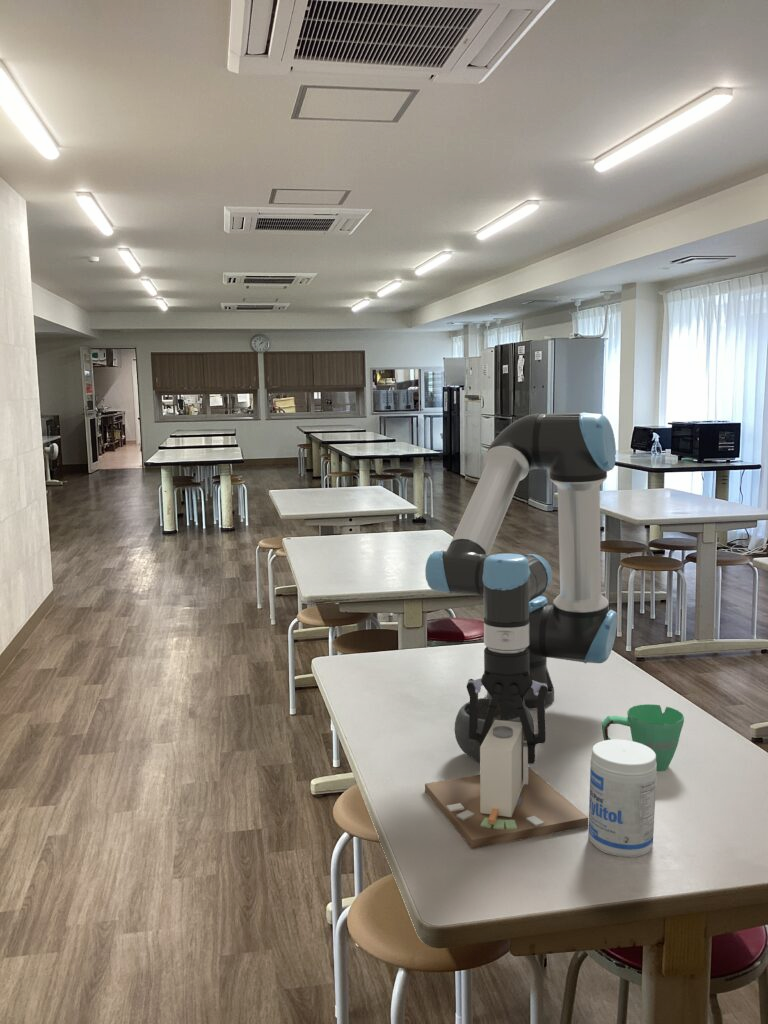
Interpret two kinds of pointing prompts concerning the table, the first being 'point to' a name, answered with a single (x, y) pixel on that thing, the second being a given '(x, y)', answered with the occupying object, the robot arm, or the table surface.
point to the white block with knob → (501, 769)
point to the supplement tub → (622, 797)
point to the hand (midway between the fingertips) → (507, 779)
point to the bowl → (503, 712)
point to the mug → (651, 730)
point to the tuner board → (531, 802)
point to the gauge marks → (498, 823)
